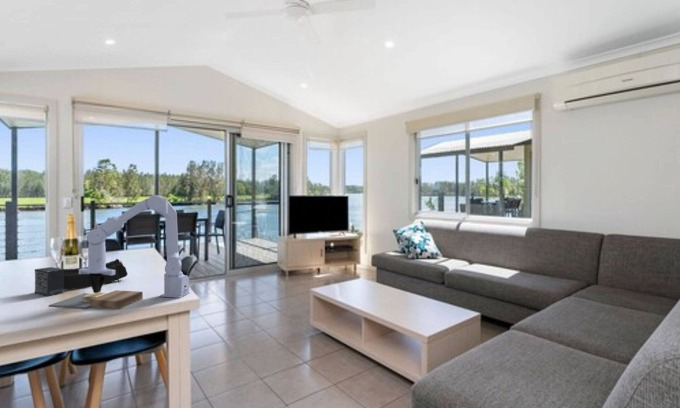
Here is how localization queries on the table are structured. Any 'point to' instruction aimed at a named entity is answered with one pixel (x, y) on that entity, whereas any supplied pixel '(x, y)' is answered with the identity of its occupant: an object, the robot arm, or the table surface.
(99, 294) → the birch tile
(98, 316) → the table surface
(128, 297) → the block
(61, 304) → the charcoal mat
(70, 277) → the magazine
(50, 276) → the small box
